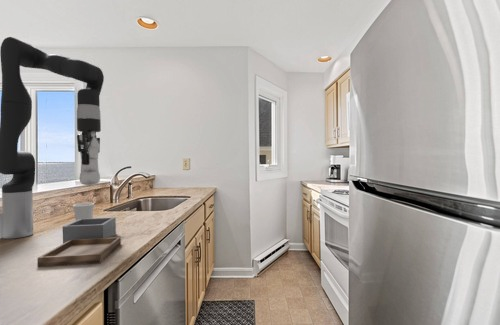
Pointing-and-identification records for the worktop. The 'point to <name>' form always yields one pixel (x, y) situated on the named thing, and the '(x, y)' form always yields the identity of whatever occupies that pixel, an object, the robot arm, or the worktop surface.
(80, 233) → the holder
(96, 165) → the plastic bottle
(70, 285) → the worktop surface
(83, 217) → the dixie cup
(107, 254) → the tray
